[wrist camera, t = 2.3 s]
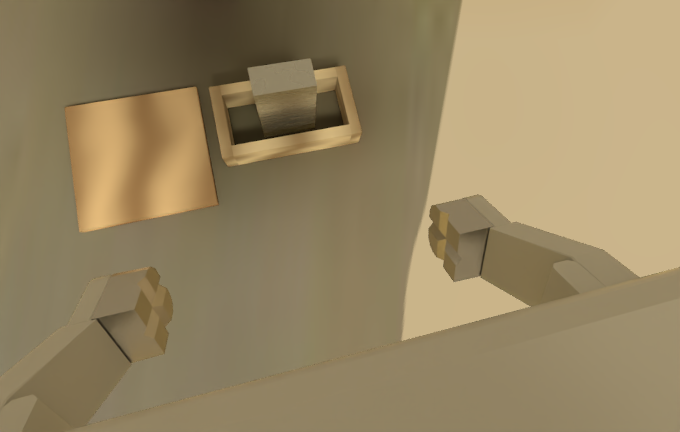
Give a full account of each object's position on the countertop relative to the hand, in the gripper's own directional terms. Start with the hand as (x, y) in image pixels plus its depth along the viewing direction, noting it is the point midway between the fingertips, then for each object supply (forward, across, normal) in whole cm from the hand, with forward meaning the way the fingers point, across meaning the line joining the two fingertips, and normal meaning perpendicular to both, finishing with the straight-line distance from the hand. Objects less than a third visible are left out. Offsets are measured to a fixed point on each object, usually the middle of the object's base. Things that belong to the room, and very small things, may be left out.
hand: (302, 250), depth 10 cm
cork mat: (+26, +13, +6) cm, 29 cm away
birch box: (+27, -1, +6) cm, 27 cm away
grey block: (+27, -1, +6) cm, 27 cm away
